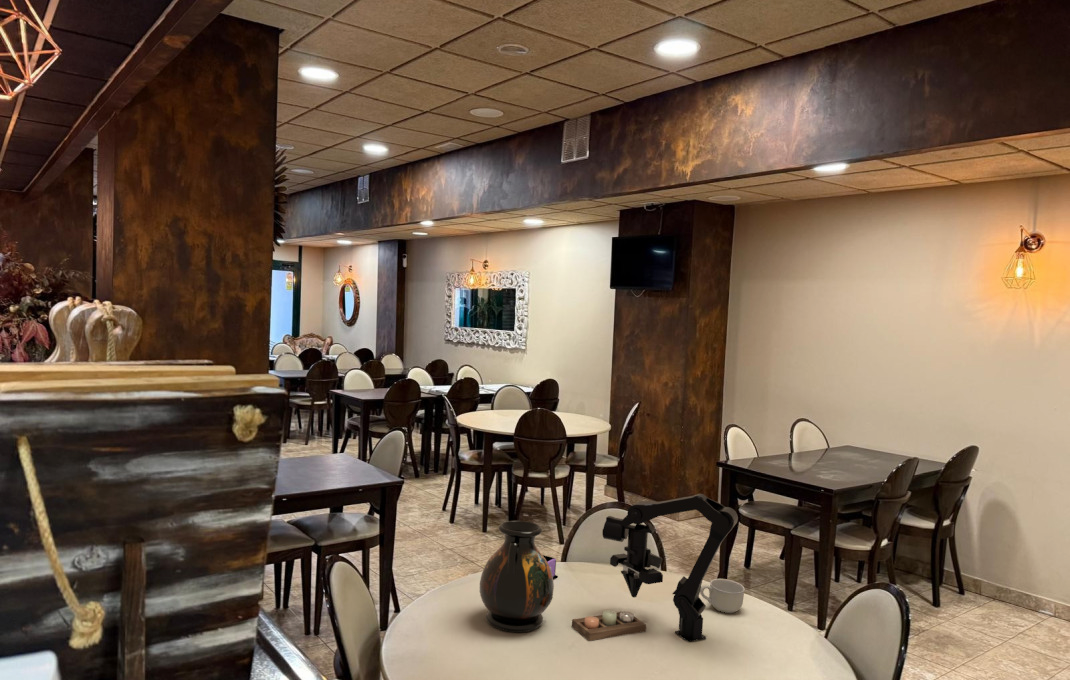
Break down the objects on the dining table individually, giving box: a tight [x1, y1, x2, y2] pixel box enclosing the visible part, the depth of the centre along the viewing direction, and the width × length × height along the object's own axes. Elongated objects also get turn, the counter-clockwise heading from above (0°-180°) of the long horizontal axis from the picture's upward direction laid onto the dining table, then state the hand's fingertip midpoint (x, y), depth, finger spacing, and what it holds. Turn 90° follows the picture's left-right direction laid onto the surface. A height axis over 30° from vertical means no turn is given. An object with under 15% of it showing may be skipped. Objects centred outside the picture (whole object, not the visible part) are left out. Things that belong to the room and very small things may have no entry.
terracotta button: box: [584, 615, 599, 629], centre depth 202 cm, size 4×4×3 cm
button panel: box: [571, 611, 647, 642], centre depth 204 cm, size 10×19×2 cm, turn 117°
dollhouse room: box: [542, 554, 559, 581], centre depth 243 cm, size 12×12×7 cm
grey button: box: [619, 610, 635, 624], centre depth 207 cm, size 4×4×3 cm
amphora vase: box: [479, 520, 555, 633], centre depth 205 cm, size 22×22×28 cm
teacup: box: [699, 578, 746, 614], centre depth 225 cm, size 14×11×8 cm
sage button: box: [602, 610, 618, 627], centre depth 204 cm, size 4×4×3 cm
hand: (633, 596), depth 210 cm, fingers closed
